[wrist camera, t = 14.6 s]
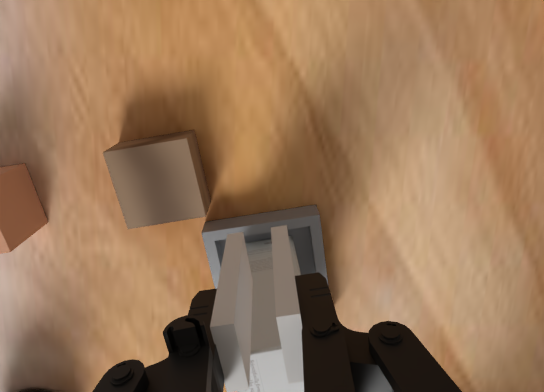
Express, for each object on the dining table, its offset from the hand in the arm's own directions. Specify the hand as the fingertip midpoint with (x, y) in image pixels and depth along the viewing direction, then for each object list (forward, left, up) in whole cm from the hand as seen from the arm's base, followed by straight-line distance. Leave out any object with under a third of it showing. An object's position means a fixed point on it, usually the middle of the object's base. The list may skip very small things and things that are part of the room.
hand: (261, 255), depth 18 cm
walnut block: (+9, 0, -19) cm, 21 cm away
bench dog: (+23, 0, -18) cm, 29 cm away
